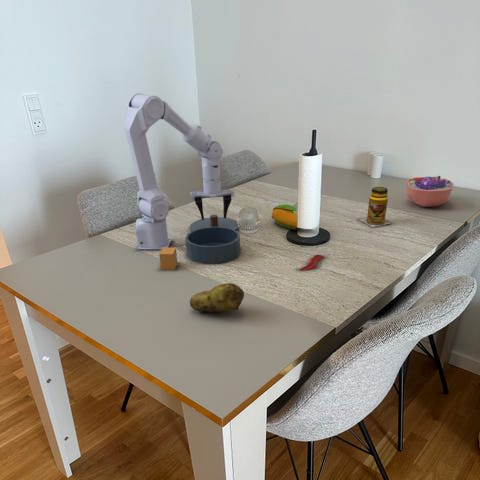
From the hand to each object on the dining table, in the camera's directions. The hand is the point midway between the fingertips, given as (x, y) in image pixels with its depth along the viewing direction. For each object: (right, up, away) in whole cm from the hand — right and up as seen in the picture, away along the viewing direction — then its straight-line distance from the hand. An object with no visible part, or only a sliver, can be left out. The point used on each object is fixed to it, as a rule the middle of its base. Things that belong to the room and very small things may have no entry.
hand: (213, 218), depth 161 cm
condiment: (+56, -1, +4) cm, 56 cm away
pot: (+1, -14, -16) cm, 21 cm away
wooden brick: (-12, -19, -24) cm, 33 cm away
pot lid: (0, -3, +2) cm, 3 cm away
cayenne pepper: (+30, -19, -25) cm, 43 cm away
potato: (+4, -33, -47) cm, 58 cm away
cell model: (+80, +9, +18) cm, 83 cm away
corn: (+28, -4, 0) cm, 28 cm away
